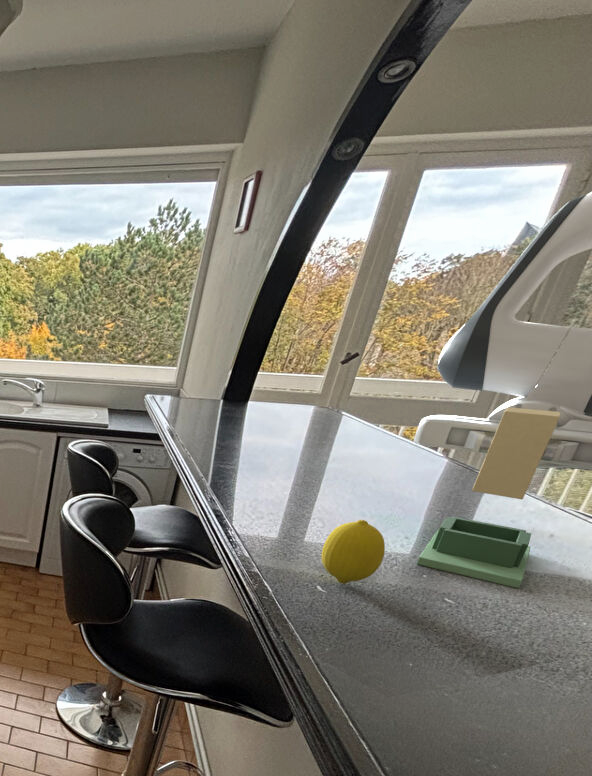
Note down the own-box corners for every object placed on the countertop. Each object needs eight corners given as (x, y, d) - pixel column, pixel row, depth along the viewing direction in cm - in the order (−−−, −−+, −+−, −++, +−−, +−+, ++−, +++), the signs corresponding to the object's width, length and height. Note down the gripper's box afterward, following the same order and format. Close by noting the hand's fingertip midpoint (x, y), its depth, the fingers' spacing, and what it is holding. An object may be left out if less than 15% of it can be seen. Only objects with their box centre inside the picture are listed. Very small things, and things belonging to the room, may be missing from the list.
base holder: (436, 534, 85) (446, 508, 83) (527, 553, 79) (540, 525, 77) (416, 564, 75) (427, 535, 74) (518, 588, 69) (533, 557, 67)
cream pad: (475, 484, 77) (507, 407, 73) (525, 492, 74) (561, 412, 70) (471, 491, 74) (504, 411, 70) (522, 499, 71) (560, 416, 67)
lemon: (347, 596, 67) (370, 530, 64) (302, 576, 72) (321, 514, 69) (383, 590, 68) (407, 526, 65) (337, 571, 73) (357, 510, 70)
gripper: (431, 401, 86) (414, 411, 77) (653, 422, 71) (662, 437, 63) (416, 444, 88) (397, 458, 79) (628, 472, 74) (633, 494, 65)
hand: (516, 449), depth 71 cm, fingers closed on cream pad, 4 cm apart
